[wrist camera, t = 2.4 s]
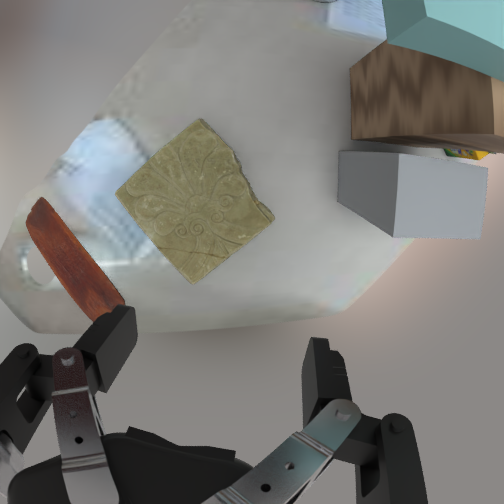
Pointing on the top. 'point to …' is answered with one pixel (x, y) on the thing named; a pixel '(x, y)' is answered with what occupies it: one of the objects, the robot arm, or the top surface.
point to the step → (414, 194)
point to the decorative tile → (194, 202)
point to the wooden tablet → (71, 262)
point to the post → (425, 102)
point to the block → (450, 31)
